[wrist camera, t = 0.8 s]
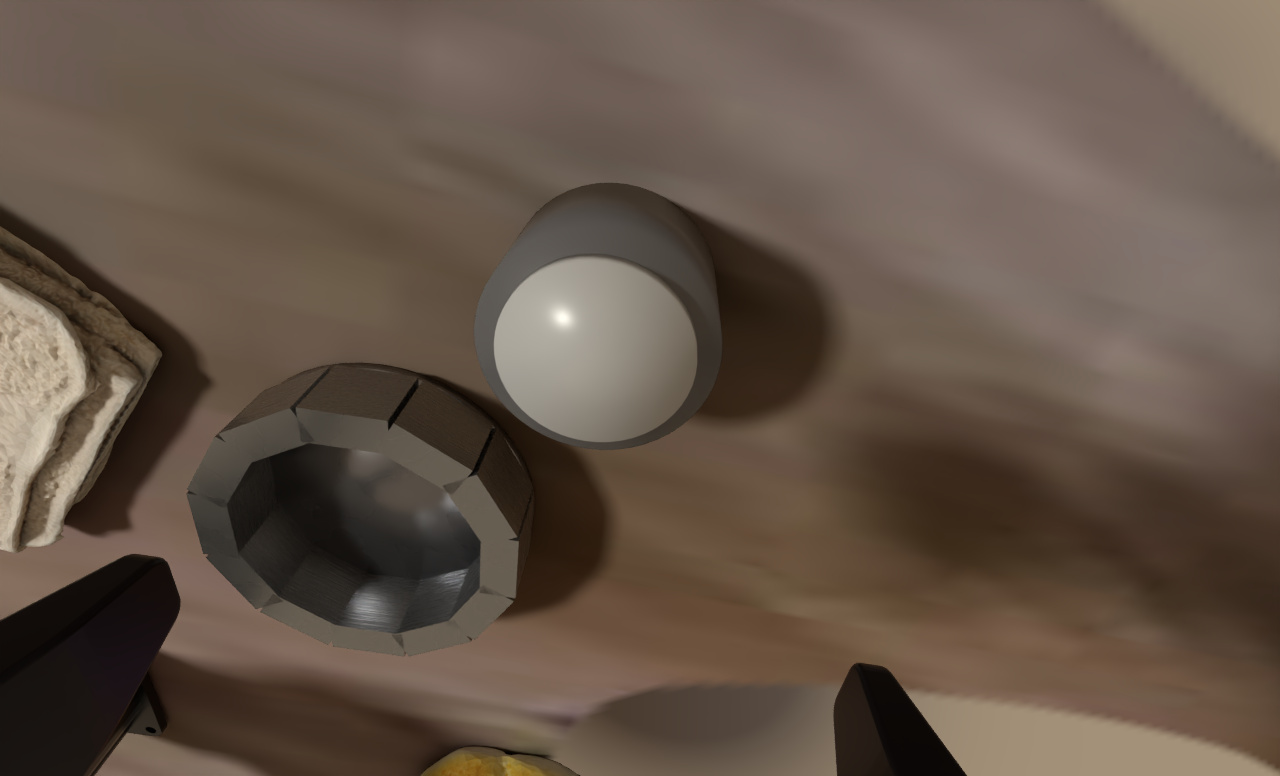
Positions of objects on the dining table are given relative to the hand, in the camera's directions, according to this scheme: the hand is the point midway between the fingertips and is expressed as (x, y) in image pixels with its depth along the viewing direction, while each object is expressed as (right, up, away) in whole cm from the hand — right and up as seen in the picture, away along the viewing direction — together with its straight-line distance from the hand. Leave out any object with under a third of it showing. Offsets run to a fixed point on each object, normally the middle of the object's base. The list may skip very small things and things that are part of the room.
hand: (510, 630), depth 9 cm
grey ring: (-7, -1, +15) cm, 17 cm away
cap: (+1, +6, +11) cm, 12 cm away
